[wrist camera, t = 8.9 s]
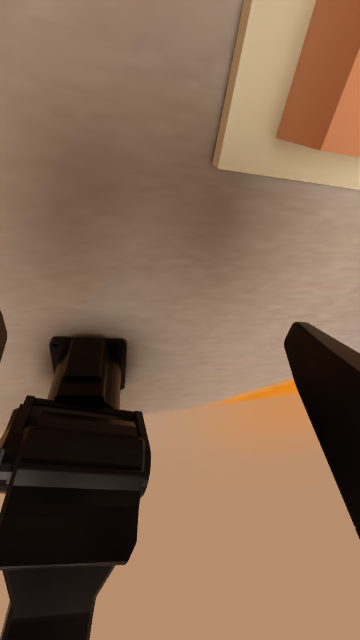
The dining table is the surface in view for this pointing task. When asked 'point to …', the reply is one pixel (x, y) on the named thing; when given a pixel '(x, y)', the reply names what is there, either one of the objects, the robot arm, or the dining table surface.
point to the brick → (327, 82)
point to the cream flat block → (272, 100)
